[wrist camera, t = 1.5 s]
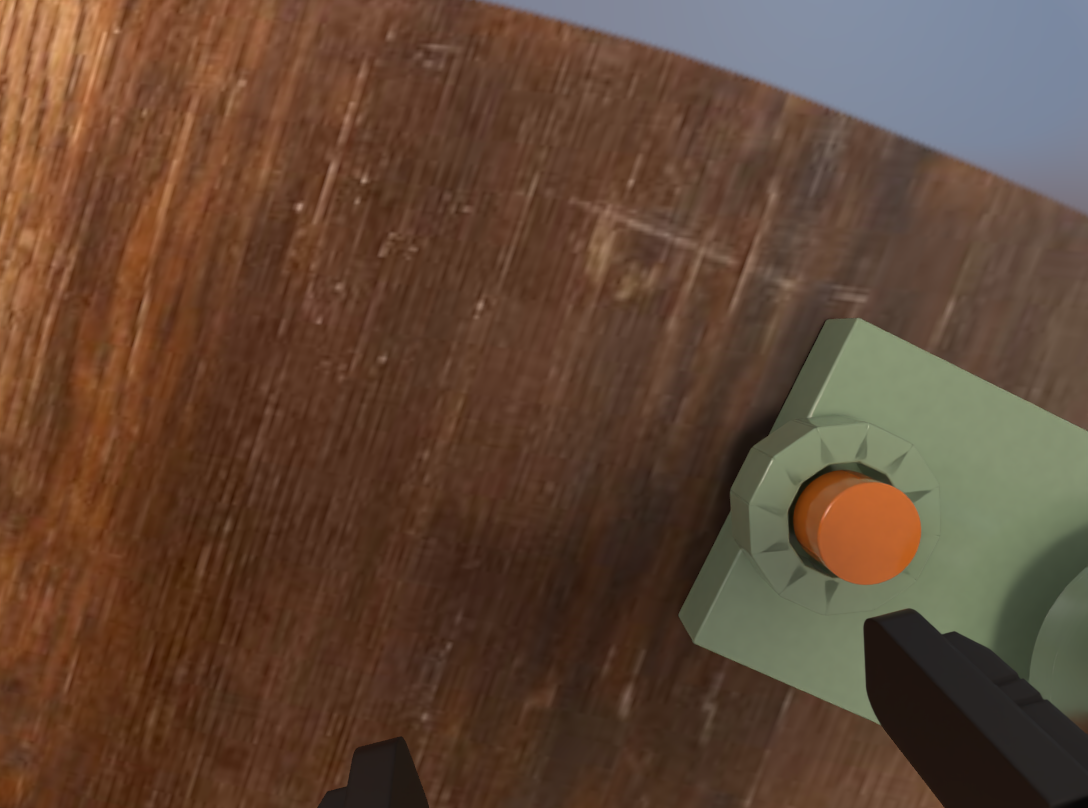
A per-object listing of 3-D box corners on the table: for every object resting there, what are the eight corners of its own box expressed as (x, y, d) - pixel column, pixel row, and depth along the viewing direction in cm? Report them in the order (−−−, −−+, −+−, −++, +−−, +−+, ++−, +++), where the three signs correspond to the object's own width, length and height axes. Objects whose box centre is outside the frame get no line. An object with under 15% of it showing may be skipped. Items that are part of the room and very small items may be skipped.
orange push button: (775, 540, 20) (799, 560, 18) (819, 453, 20) (849, 465, 18) (859, 579, 20) (891, 602, 19) (904, 493, 20) (941, 508, 18)
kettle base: (646, 602, 24) (672, 656, 20) (795, 302, 23) (853, 296, 19) (1084, 794, 26) (1189, 880, 22) (1241, 522, 25) (1381, 559, 21)
